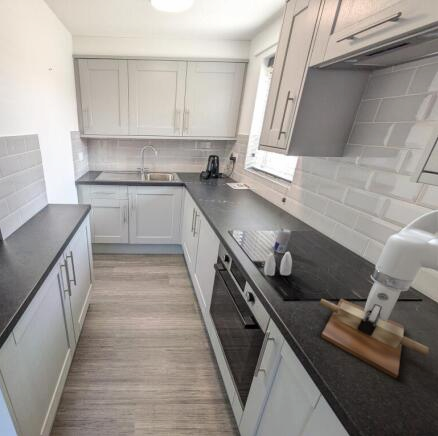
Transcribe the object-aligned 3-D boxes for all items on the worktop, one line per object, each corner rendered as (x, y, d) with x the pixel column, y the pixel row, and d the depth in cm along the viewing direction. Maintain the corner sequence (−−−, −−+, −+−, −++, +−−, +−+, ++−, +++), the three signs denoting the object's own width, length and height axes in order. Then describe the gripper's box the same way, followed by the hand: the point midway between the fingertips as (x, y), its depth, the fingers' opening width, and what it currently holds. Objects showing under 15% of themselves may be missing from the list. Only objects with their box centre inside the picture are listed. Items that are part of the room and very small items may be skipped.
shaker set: (287, 272, 101) (294, 249, 96) (293, 277, 97) (300, 255, 93) (260, 270, 101) (266, 248, 97) (264, 276, 97) (270, 253, 93)
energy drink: (275, 247, 121) (281, 227, 116) (286, 251, 117) (292, 230, 113) (271, 251, 118) (277, 229, 113) (282, 255, 114) (289, 233, 109)
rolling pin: (316, 309, 77) (320, 299, 76) (320, 303, 80) (324, 293, 78) (422, 362, 60) (430, 350, 59) (423, 352, 63) (430, 341, 62)
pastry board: (339, 302, 84) (340, 298, 83) (401, 330, 73) (404, 326, 72) (320, 338, 69) (322, 333, 68) (395, 380, 58) (398, 375, 57)
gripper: (408, 298, 55) (378, 352, 62) (412, 273, 66) (385, 321, 72) (367, 283, 61) (343, 334, 67) (376, 261, 71) (355, 308, 78)
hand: (365, 327), depth 70 cm, fingers closed on rolling pin, 4 cm apart
